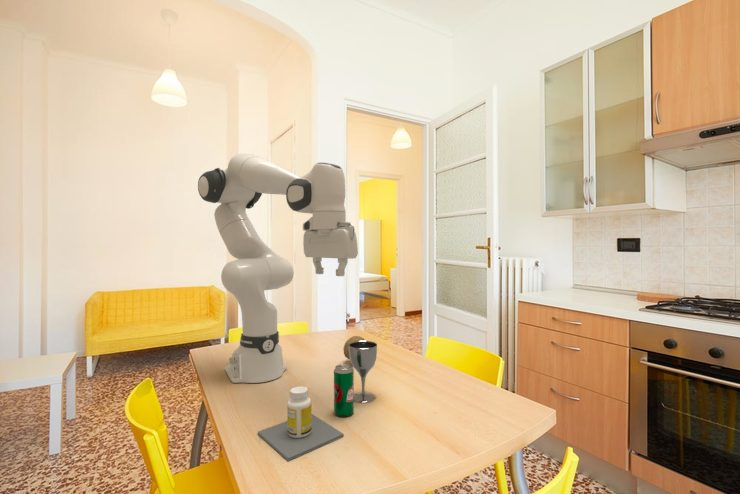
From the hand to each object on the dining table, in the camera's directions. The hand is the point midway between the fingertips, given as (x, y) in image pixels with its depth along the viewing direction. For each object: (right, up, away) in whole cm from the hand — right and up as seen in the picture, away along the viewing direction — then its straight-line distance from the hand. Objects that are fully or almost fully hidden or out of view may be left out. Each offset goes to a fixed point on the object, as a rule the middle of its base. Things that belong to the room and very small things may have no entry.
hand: (329, 275), depth 98 cm
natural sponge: (+6, -35, +35) cm, 50 cm away
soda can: (+4, -35, -4) cm, 36 cm away
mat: (-5, -35, -15) cm, 39 cm away
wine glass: (+9, -35, +5) cm, 37 cm away
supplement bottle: (-5, -35, -15) cm, 38 cm away
